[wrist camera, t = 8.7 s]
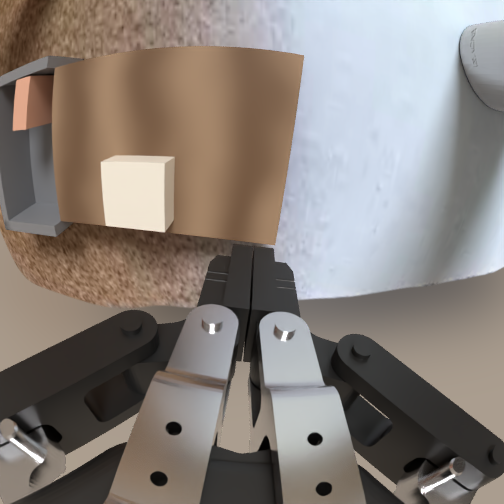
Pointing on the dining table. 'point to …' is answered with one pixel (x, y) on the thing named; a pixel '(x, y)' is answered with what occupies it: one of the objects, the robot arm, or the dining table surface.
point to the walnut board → (182, 133)
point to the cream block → (138, 192)
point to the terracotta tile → (33, 102)
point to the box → (28, 161)
